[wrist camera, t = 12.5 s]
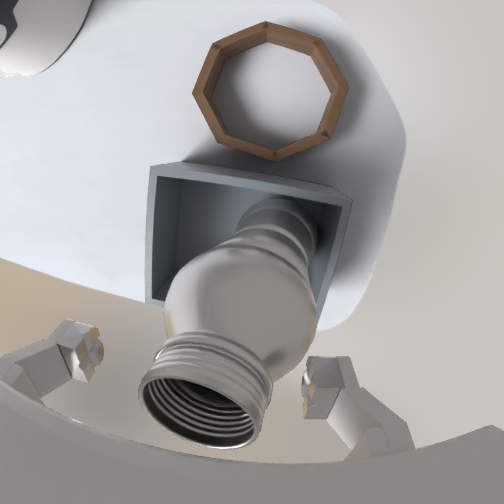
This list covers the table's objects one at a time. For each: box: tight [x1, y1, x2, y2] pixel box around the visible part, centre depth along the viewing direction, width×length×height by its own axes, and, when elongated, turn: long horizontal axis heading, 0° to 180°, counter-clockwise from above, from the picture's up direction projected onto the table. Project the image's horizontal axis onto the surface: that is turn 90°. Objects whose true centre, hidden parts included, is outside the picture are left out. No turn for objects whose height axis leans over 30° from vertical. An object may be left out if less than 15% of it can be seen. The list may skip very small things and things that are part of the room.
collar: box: [192, 21, 349, 162], centre depth 20 cm, size 12×12×3 cm
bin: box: [145, 162, 353, 324], centre depth 23 cm, size 14×11×7 cm
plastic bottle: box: [138, 198, 318, 450], centre depth 16 cm, size 6×7×20 cm
